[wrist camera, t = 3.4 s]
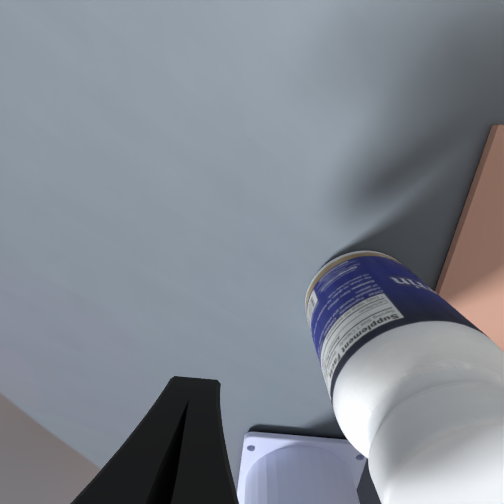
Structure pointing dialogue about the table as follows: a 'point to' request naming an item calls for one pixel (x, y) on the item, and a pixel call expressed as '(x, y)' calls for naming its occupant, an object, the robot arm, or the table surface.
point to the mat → (480, 247)
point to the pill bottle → (409, 382)
